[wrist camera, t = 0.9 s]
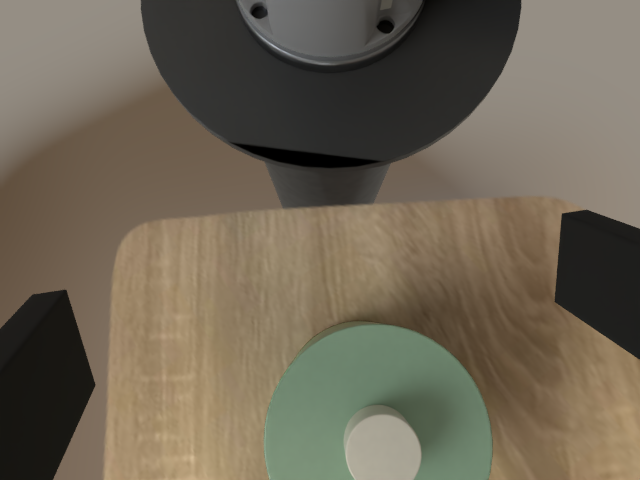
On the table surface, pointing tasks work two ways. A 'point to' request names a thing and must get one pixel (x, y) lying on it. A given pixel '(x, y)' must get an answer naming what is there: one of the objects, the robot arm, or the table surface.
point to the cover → (376, 410)
